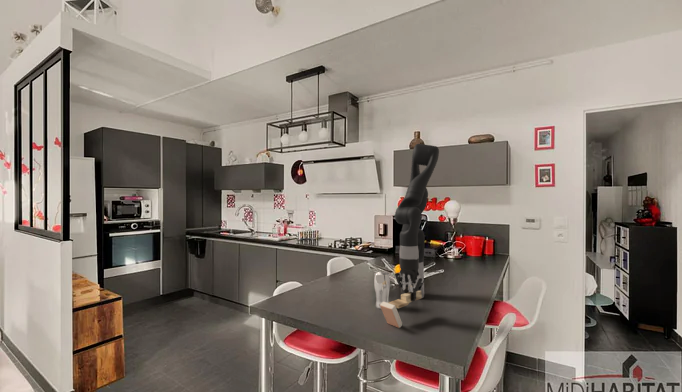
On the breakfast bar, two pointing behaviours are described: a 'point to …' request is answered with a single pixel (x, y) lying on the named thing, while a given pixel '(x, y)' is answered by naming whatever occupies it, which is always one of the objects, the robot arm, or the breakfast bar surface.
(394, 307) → the tile
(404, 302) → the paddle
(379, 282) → the beer glass
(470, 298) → the breakfast bar surface
